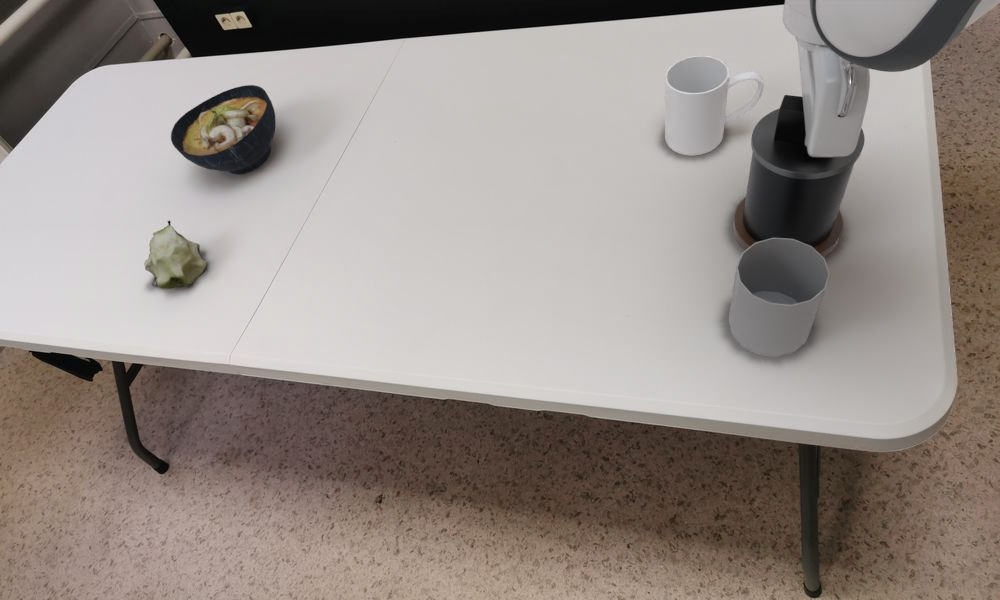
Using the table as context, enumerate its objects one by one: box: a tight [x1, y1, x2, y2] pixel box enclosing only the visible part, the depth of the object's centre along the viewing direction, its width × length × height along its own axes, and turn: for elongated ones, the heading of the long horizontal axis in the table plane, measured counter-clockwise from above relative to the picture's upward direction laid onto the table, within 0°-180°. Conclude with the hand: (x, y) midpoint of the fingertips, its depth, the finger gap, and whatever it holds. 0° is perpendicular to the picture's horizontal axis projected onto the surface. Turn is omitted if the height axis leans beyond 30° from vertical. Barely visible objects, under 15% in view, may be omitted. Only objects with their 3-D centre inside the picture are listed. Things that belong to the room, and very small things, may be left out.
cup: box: [727, 238, 831, 358], centre depth 64 cm, size 8×8×10 cm
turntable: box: [732, 196, 844, 258], centre depth 75 cm, size 12×12×2 cm
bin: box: [743, 94, 866, 247], centre depth 67 cm, size 11×11×17 cm
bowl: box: [170, 84, 277, 175], centre depth 104 cm, size 17×17×10 cm
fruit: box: [143, 220, 207, 290], centre depth 92 cm, size 9×9×8 cm
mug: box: [664, 55, 764, 157], centre depth 82 cm, size 12×8×10 cm, turn 81°
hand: (812, 127), depth 63 cm, fingers closed on bin, 3 cm apart
